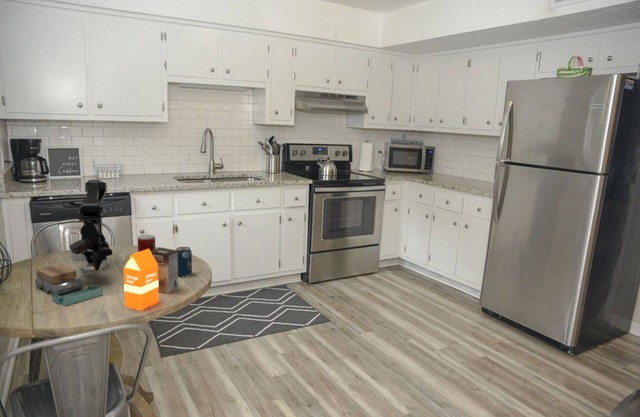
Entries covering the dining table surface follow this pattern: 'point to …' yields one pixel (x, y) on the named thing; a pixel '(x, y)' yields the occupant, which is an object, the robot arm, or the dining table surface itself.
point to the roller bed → (69, 287)
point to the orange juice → (141, 280)
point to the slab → (56, 274)
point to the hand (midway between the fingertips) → (94, 269)
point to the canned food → (146, 242)
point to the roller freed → (92, 267)
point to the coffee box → (166, 269)
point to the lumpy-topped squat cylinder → (78, 257)
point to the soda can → (184, 261)
